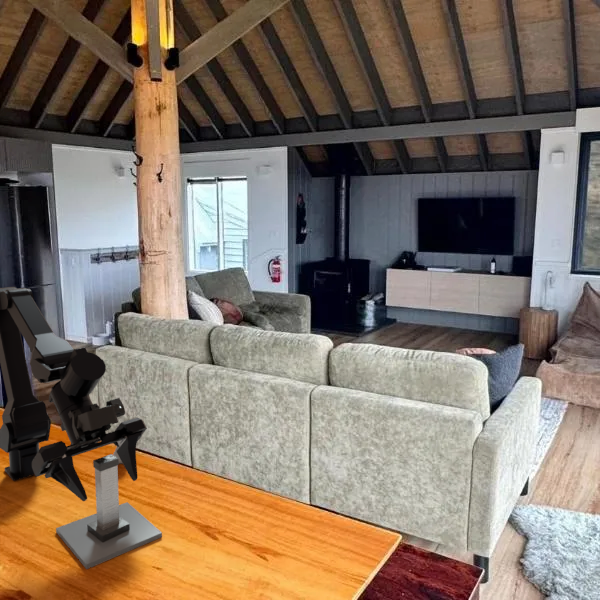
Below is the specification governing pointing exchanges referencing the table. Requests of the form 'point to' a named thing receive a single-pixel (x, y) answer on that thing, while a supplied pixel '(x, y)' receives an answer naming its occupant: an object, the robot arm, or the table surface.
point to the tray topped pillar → (107, 500)
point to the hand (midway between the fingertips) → (111, 489)
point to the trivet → (96, 551)
